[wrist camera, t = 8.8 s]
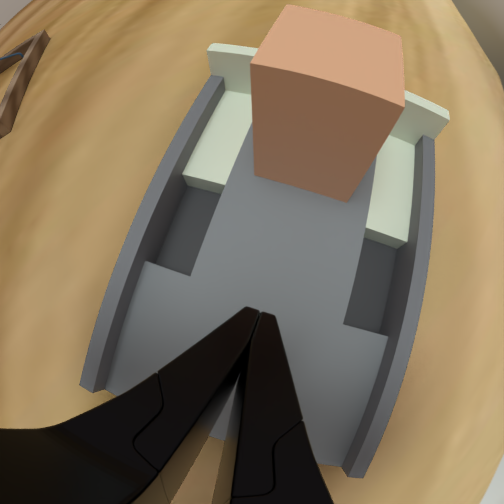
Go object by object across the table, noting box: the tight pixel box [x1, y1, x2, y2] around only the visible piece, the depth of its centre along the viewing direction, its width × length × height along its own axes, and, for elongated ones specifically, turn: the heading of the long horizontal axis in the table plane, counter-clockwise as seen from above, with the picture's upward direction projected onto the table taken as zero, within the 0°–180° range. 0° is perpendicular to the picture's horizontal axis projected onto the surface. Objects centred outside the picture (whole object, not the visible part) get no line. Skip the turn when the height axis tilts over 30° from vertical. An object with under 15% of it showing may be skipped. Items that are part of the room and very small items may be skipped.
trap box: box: [79, 43, 450, 478], centre depth 16 cm, size 24×17×6 cm
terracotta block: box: [250, 4, 405, 203], centre depth 14 cm, size 6×6×9 cm
